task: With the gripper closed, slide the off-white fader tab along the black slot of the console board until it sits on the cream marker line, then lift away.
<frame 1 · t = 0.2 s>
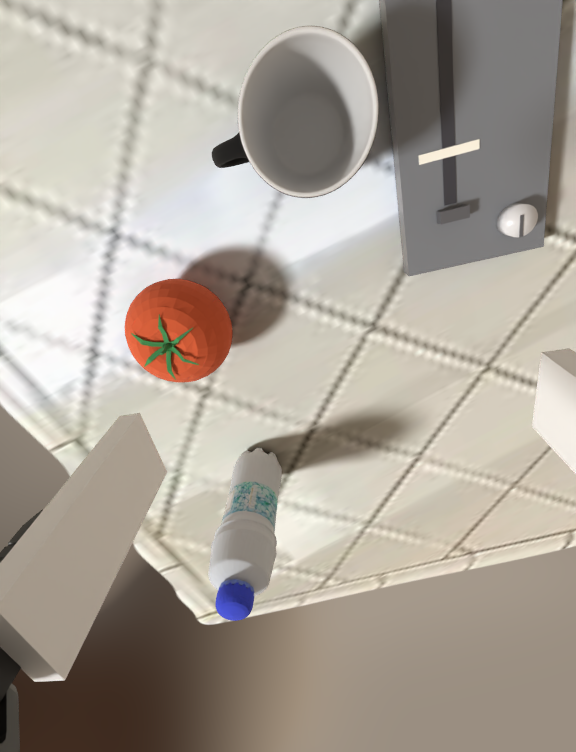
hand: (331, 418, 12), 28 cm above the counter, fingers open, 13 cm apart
bottle: (259, 460, 49), on the counter
console: (463, 61, 29), on the counter
tomato: (194, 315, 40), on the counter
mug: (291, 143, 32), on the counter
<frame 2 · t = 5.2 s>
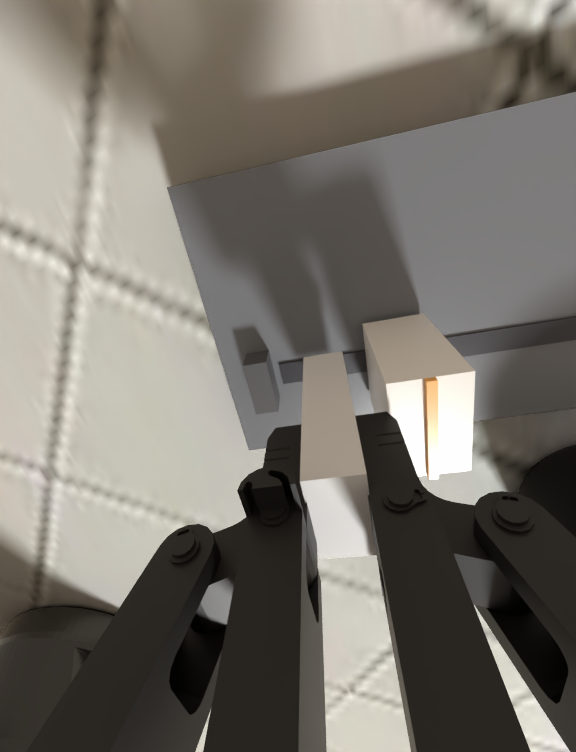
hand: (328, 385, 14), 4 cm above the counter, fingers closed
fader tab: (410, 389, 13), point 5 cm above the counter, slide at 0.9 cm, touching gripper
console: (575, 263, 15), on the counter
mug: (570, 500, 22), on the counter
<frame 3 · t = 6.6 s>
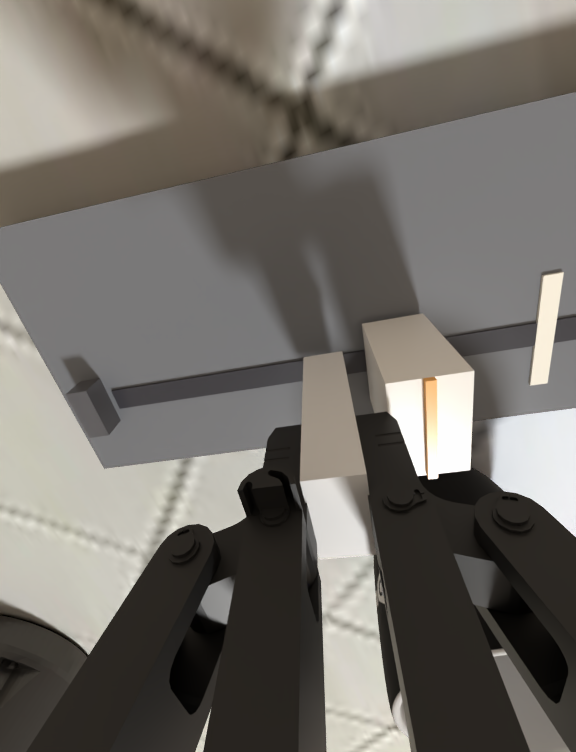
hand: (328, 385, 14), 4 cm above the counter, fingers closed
fader tab: (410, 389, 13), point 5 cm above the counter, slide at 9.0 cm, touching gripper
console: (381, 297, 16), on the counter
mug: (432, 514, 23), on the counter
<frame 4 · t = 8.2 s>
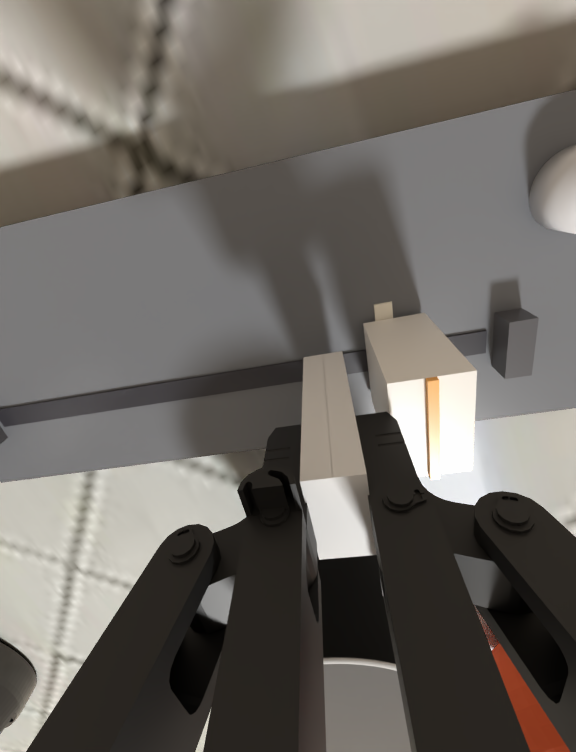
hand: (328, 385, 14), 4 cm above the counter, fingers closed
fader tab: (412, 389, 13), point 5 cm above the counter, slide at 15.3 cm, touching gripper
console: (247, 321, 17), on the counter
tomato: (527, 632, 28), on the counter
mug: (333, 524, 24), on the counter
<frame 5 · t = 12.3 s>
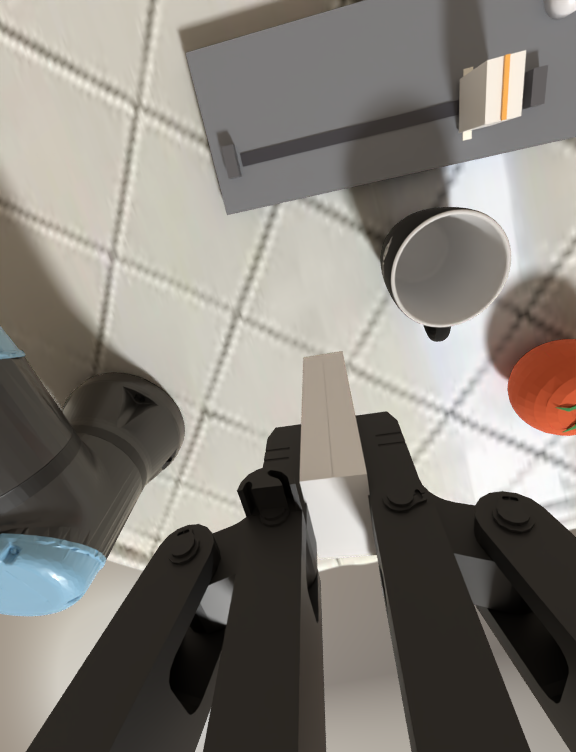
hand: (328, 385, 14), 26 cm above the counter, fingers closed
fader tab: (489, 96, 27), point 5 cm above the counter, slide at 15.5 cm
console: (385, 99, 31), on the counter
tomato: (537, 366, 42), on the counter
mug: (416, 265, 38), on the counter
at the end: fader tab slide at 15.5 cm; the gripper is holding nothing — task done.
